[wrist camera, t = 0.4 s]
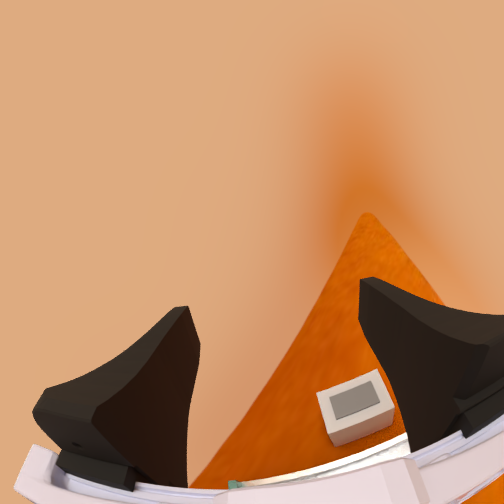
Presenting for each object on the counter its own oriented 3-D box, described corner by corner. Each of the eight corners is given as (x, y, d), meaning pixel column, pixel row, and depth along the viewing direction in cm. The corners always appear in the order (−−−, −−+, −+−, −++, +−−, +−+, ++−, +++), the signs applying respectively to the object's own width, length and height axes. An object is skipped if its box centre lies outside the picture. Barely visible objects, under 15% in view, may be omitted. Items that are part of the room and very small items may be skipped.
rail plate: (407, 435, 18) (411, 425, 17) (431, 495, 12) (438, 492, 10) (241, 485, 20) (227, 480, 19) (248, 545, 14) (233, 547, 12)
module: (392, 424, 20) (394, 405, 18) (335, 447, 21) (327, 433, 18) (377, 391, 24) (376, 367, 22) (325, 412, 25) (315, 391, 22)
